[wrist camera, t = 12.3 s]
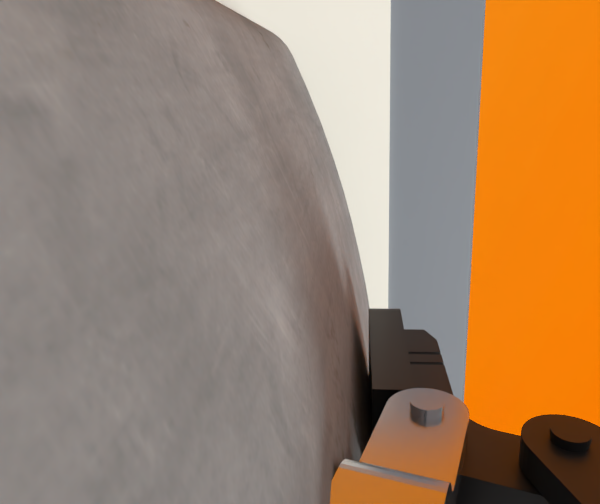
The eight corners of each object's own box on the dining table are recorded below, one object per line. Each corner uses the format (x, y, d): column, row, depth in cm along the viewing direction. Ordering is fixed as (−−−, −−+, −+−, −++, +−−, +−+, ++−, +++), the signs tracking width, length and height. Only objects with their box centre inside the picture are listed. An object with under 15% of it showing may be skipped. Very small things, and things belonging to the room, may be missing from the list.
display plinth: (146, -49, 21) (110, -72, 18) (471, -72, 20) (492, -101, 17) (200, 444, 27) (180, 490, 24) (447, 452, 26) (459, 501, 23)
